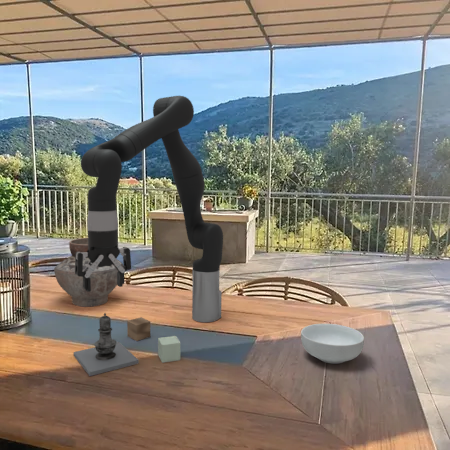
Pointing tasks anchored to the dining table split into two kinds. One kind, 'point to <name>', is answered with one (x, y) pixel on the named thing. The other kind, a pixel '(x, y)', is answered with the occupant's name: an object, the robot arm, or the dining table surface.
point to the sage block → (169, 349)
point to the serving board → (100, 366)
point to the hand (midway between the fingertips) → (104, 288)
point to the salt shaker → (105, 340)
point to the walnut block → (138, 329)
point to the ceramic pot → (73, 284)
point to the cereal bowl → (332, 342)
